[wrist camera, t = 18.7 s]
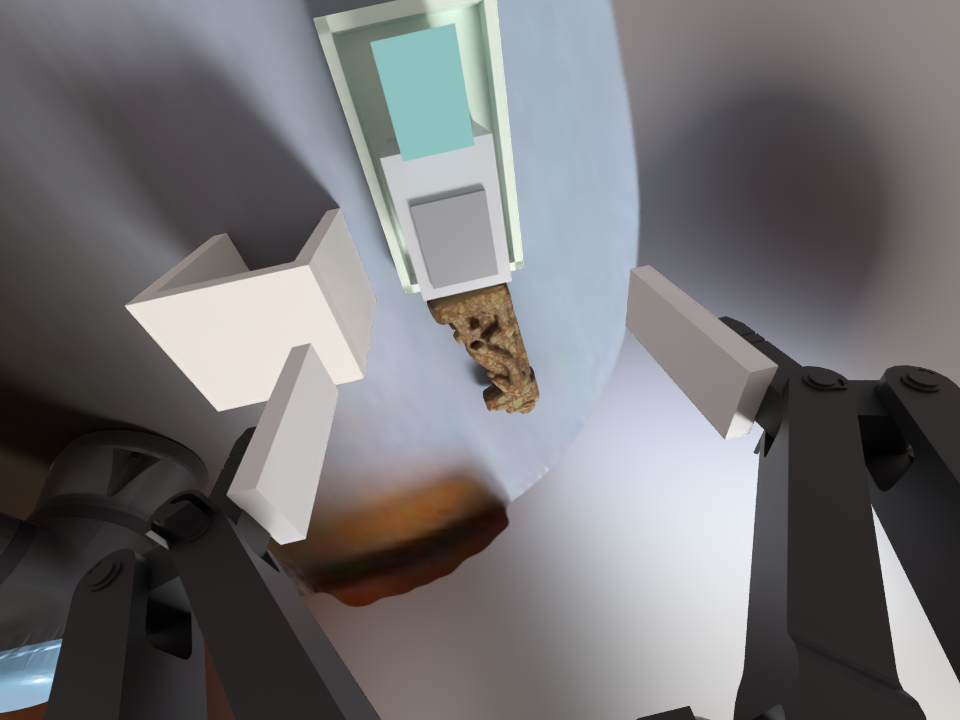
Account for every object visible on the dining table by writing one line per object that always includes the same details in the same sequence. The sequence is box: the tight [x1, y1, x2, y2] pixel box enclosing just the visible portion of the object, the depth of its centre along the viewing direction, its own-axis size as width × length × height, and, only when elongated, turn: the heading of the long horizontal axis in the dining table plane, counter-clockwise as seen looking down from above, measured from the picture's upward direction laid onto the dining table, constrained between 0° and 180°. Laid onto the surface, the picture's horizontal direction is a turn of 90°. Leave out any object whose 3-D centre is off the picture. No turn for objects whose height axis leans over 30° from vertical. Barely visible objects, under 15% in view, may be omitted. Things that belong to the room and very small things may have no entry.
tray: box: [313, 0, 524, 295], centre depth 30 cm, size 12×20×3 cm, turn 10°
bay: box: [125, 208, 377, 412], centre depth 30 cm, size 11×9×13 cm
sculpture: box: [427, 282, 539, 414], centre depth 42 cm, size 8×19×5 cm, turn 18°
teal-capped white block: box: [370, 23, 512, 301], centre depth 26 cm, size 7×15×12 cm, turn 10°
